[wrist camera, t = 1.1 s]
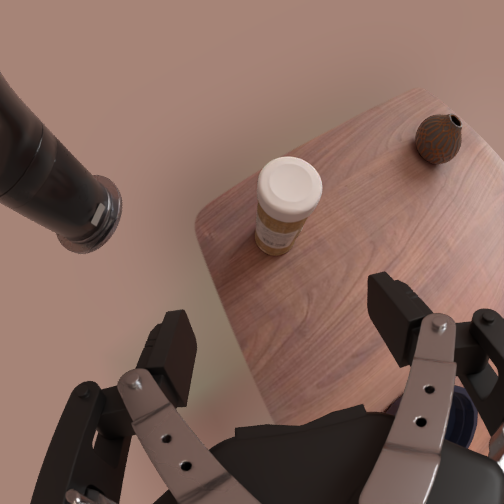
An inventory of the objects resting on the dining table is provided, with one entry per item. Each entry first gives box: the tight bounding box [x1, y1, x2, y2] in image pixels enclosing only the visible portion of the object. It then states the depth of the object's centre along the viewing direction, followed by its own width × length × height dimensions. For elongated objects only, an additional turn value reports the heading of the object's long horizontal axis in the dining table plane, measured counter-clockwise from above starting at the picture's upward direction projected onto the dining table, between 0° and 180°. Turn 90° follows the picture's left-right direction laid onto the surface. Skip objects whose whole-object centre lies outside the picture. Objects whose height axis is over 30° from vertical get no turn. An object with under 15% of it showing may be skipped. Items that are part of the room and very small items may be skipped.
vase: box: [415, 114, 462, 164], centre depth 31 cm, size 7×7×9 cm
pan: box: [386, 385, 478, 449], centre depth 24 cm, size 16×16×4 cm
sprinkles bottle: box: [255, 157, 322, 256], centre depth 25 cm, size 5×5×13 cm
